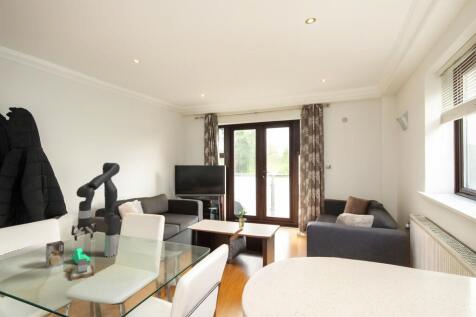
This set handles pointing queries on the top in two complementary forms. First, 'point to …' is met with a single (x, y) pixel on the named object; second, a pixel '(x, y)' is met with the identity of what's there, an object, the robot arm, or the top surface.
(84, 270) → the housing
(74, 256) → the camera mount
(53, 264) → the coffee box
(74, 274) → the walnut stand
